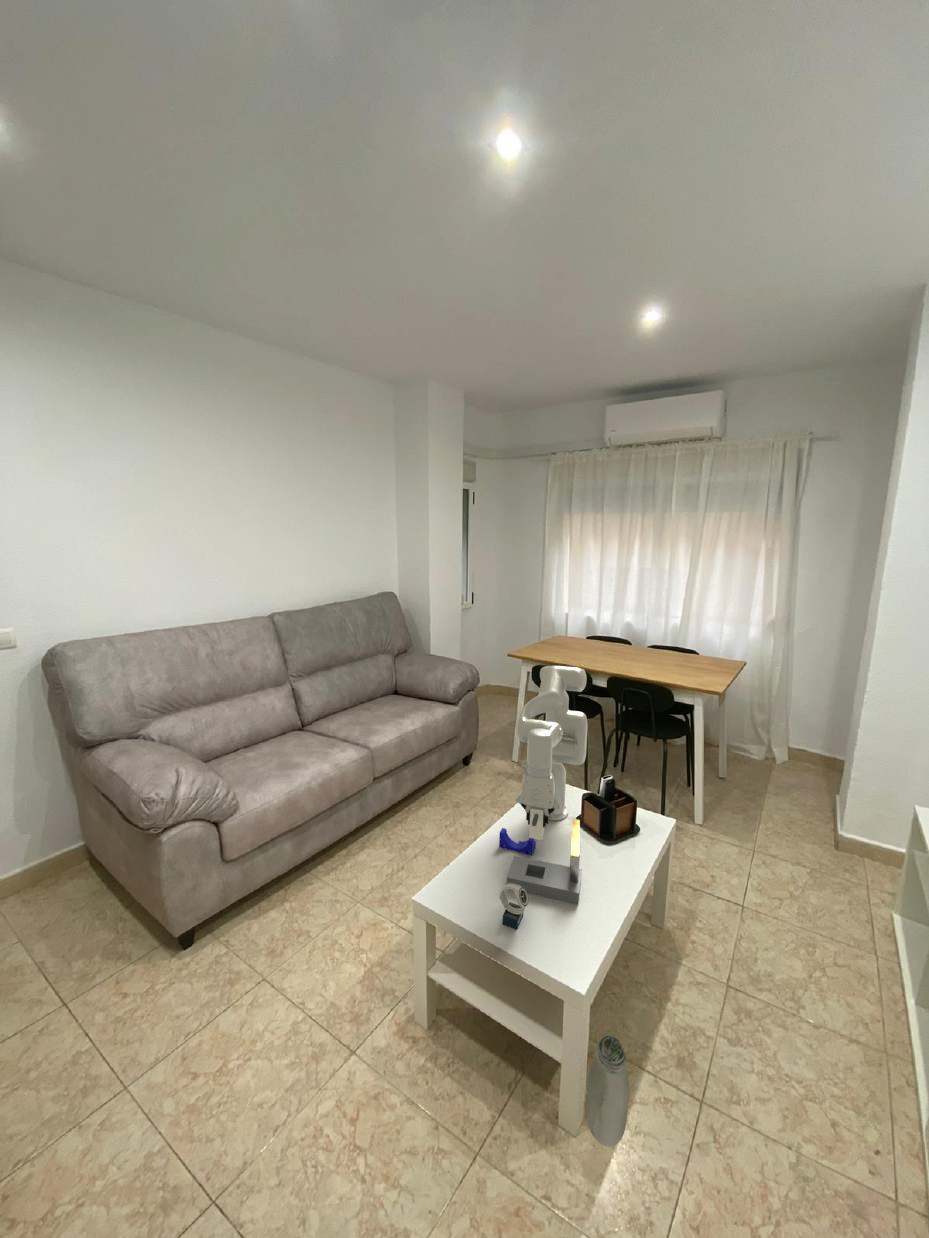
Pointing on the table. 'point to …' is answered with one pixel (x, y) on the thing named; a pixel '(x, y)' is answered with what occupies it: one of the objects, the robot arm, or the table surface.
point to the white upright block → (536, 823)
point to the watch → (514, 905)
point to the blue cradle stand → (516, 844)
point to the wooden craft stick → (574, 852)
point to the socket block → (544, 879)
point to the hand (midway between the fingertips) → (537, 823)
